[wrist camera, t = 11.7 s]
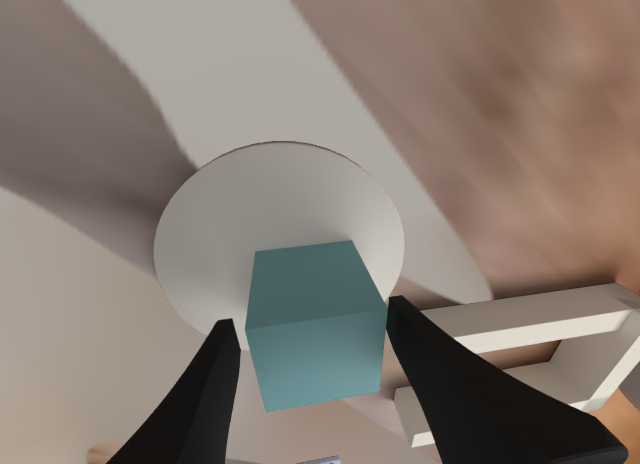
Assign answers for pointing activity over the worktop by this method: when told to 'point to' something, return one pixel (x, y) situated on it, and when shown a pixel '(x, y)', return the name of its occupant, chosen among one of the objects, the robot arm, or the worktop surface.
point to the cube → (314, 325)
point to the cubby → (542, 326)
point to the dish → (268, 225)
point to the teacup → (632, 386)
